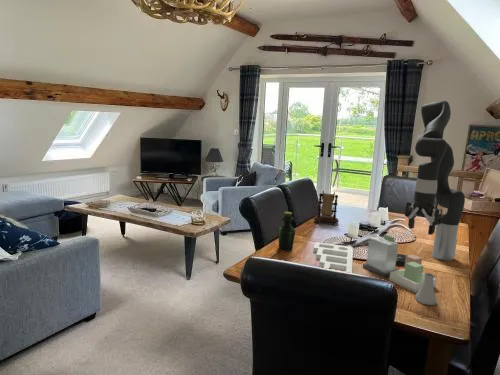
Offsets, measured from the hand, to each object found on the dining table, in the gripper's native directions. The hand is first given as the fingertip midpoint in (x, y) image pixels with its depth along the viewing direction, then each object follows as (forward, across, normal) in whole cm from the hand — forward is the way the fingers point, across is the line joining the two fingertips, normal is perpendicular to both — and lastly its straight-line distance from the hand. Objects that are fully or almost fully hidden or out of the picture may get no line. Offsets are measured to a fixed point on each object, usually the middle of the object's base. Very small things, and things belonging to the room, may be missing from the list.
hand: (420, 231), depth 147 cm
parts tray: (+21, +1, -3) cm, 21 cm away
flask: (+21, +13, -11) cm, 27 cm away
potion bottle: (+20, -51, -27) cm, 62 cm away
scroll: (+21, -82, +26) cm, 89 cm away
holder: (+21, -27, -20) cm, 40 cm away
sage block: (+20, +1, -3) cm, 20 cm away
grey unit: (+21, -13, -4) cm, 25 cm away
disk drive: (+22, -19, +11) cm, 31 cm away
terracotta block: (+21, -7, +7) cm, 23 cm away
